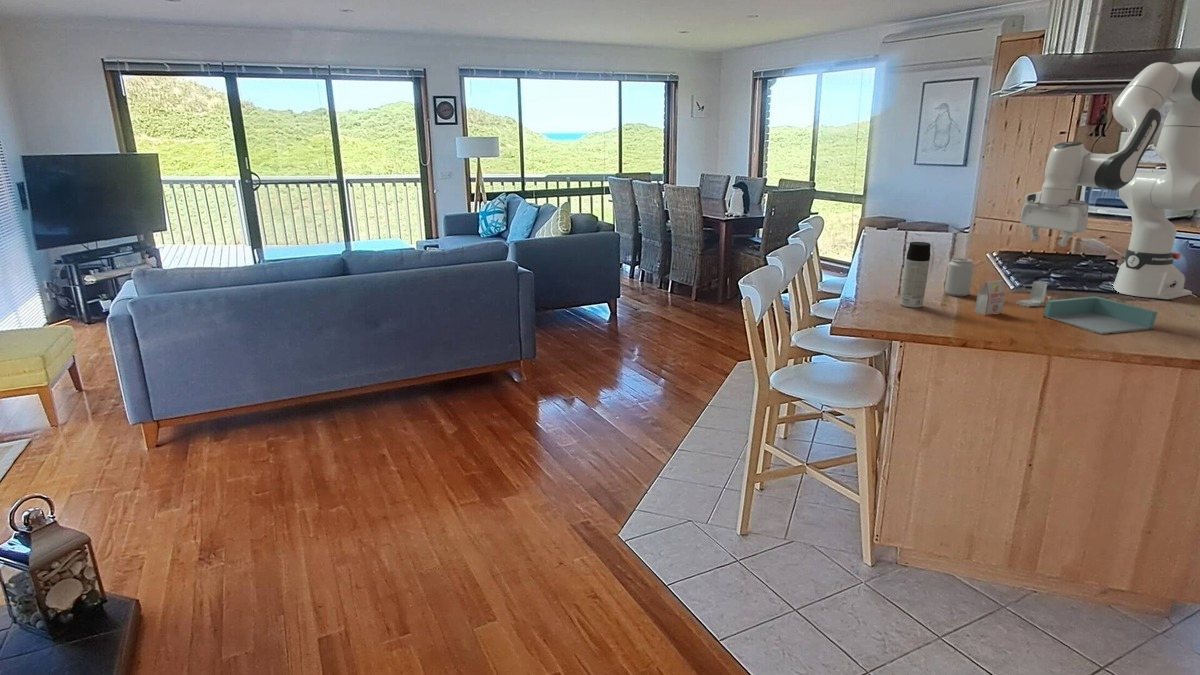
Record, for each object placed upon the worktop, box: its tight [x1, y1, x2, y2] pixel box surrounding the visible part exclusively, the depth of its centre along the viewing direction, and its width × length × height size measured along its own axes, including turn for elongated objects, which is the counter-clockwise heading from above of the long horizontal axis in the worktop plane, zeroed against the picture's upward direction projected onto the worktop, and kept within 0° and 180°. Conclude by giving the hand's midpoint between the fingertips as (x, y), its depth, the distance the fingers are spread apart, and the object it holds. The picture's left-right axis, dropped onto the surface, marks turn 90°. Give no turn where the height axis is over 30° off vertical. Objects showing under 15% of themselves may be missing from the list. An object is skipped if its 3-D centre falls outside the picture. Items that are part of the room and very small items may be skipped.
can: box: [944, 257, 975, 297], centre depth 218 cm, size 8×8×12 cm
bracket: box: [1016, 281, 1048, 308], centre depth 205 cm, size 6×4×7 cm, turn 104°
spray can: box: [899, 241, 932, 309], centre depth 204 cm, size 7×7×20 cm
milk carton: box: [974, 279, 1006, 315], centre depth 196 cm, size 4×7×10 cm, turn 109°
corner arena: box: [1043, 295, 1158, 335], centre depth 186 cm, size 18×18×5 cm
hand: (1048, 243), depth 200 cm, fingers open, 8 cm apart
